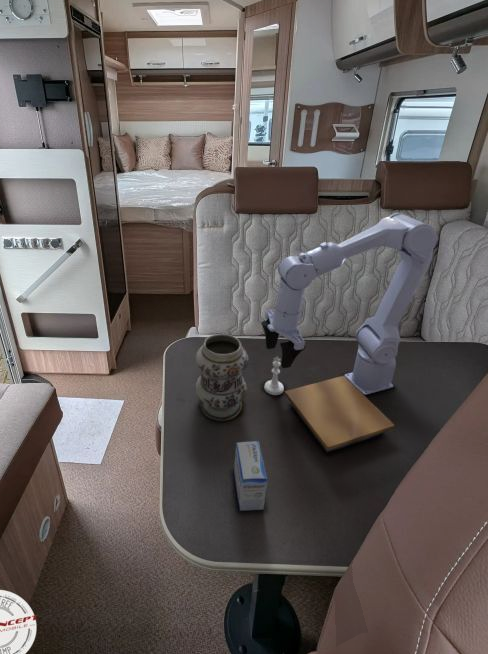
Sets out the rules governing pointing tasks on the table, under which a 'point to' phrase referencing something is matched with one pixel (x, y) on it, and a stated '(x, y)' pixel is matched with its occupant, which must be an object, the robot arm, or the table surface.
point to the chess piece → (274, 380)
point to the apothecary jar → (221, 376)
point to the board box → (337, 413)
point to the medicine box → (250, 476)
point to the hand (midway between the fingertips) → (278, 357)
